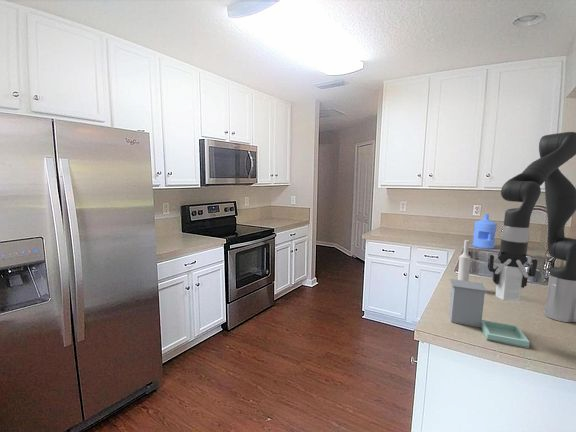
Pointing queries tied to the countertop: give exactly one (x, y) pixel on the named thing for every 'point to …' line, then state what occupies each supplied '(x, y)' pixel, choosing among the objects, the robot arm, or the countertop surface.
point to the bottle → (464, 263)
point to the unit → (466, 302)
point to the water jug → (484, 233)
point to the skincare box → (509, 283)
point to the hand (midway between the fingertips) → (508, 285)
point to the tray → (504, 333)
